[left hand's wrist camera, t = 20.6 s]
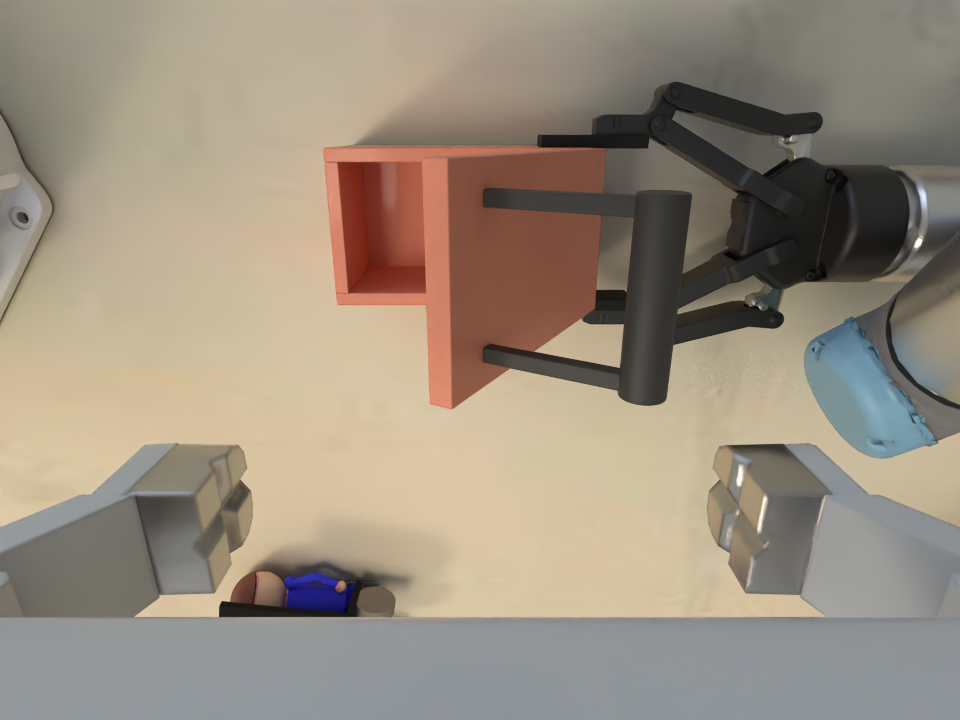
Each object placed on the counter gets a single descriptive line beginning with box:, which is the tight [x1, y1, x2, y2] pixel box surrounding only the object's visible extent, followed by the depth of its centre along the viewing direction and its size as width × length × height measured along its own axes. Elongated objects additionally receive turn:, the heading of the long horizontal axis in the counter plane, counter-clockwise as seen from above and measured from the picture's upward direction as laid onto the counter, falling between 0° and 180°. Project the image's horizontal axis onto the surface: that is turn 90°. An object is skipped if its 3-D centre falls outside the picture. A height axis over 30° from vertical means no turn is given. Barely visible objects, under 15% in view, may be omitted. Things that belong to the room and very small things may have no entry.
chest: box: [323, 145, 586, 305], centre depth 41 cm, size 16×10×9 cm, turn 90°
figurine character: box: [219, 571, 395, 617], centre depth 55 cm, size 7×8×15 cm
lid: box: [422, 148, 692, 409], centre depth 27 cm, size 17×10×9 cm
